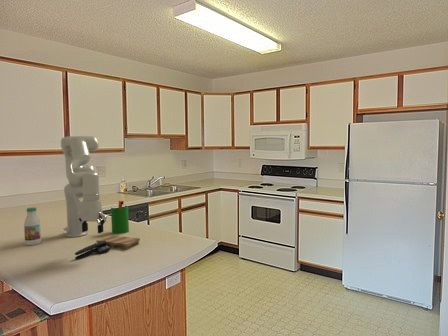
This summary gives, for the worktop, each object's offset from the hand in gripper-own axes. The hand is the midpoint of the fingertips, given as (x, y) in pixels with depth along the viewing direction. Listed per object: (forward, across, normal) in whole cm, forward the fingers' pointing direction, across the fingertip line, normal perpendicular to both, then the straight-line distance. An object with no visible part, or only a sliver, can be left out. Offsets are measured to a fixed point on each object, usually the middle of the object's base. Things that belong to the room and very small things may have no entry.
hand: (92, 232), depth 161 cm
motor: (+11, -15, +40) cm, 44 cm away
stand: (+11, +1, +17) cm, 20 cm away
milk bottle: (+11, -46, +4) cm, 47 cm away
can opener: (+12, -1, 0) cm, 12 cm away
